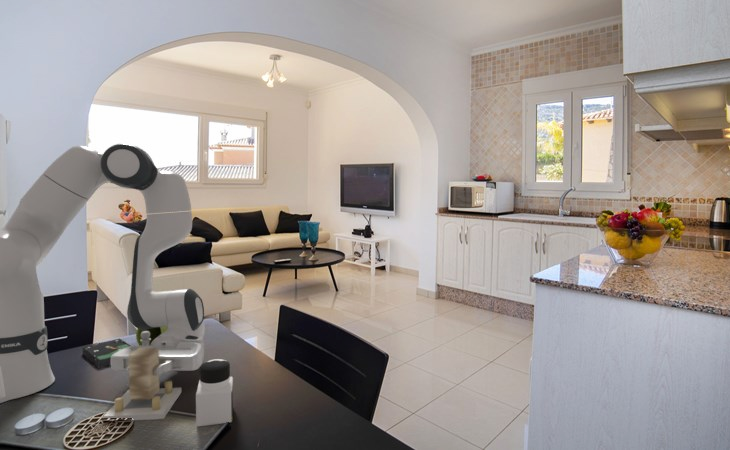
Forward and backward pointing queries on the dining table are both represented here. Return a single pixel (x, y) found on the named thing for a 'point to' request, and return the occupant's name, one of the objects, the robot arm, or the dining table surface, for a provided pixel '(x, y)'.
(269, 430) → the dining table surface
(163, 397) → the white pegged board
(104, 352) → the disk drive
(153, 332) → the plant pot
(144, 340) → the chess piece
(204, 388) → the medicine bottle
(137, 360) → the maple block
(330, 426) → the dining table surface
